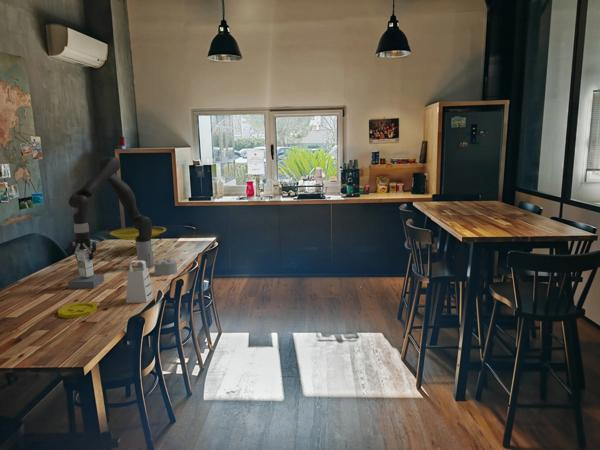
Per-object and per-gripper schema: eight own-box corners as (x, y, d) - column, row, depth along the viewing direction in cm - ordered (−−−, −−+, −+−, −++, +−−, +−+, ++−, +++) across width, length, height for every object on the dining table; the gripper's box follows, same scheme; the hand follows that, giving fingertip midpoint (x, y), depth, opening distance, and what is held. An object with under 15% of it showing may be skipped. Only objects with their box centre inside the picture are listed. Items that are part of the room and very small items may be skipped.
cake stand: (179, 248, 356) (178, 228, 353) (135, 259, 322) (133, 238, 320) (143, 242, 377) (142, 224, 374) (99, 253, 344) (97, 233, 341)
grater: (133, 295, 247) (130, 258, 243) (153, 295, 246) (151, 258, 243) (126, 302, 236) (122, 264, 233) (146, 302, 236) (143, 264, 232)
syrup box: (94, 274, 268) (91, 249, 265) (86, 277, 262) (83, 252, 260) (86, 273, 270) (83, 249, 267) (78, 276, 264) (75, 251, 262)
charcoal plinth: (104, 280, 274) (103, 274, 273) (93, 288, 260) (93, 281, 259) (80, 281, 274) (79, 274, 273) (68, 288, 260) (68, 281, 259)
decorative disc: (57, 321, 213) (57, 317, 213) (59, 309, 229) (59, 305, 229) (97, 315, 220) (97, 311, 220) (96, 304, 236) (96, 300, 236)
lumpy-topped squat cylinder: (156, 271, 292) (155, 258, 291) (177, 270, 295) (176, 256, 293) (154, 276, 282) (153, 262, 281) (176, 274, 285) (175, 260, 283)
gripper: (97, 229, 265) (100, 258, 268) (72, 229, 265) (75, 258, 268) (91, 232, 258) (94, 261, 261) (65, 232, 258) (68, 261, 261)
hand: (84, 259), depth 264 cm, fingers closed on syrup box, 6 cm apart
